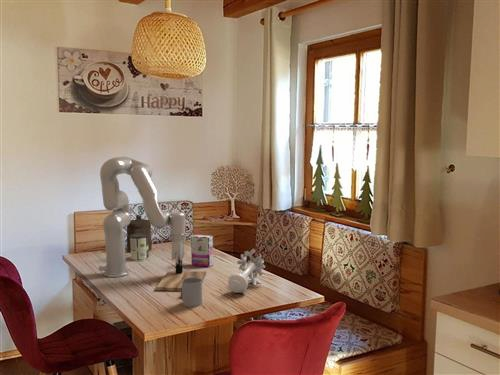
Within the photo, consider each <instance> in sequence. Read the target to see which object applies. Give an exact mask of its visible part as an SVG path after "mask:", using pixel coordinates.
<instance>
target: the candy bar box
mask: <svg viewBox="0 0 500 375" xmlns="http://www.w3.org/2000/svg"><path fill="white" fill-rule="evenodd" d="M213 238H214V236H213V235H203V234H194V235H190V250H191V255H190V256H191V266H194V267H204V268H206V267H207V268H210V267H213V266H214V243H213V242H214V239H213Z"/></svg>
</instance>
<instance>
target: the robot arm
mask: <svg viewBox="0 0 500 375" xmlns="http://www.w3.org/2000/svg"><path fill="white" fill-rule="evenodd" d="M122 174H126V175H129V177H130V178H131V180H132V182H133V185H134V186H135V188H136V189H137V192H138V194H139V195H140V197H141V200H142V206H143V210H144V213H145V216H146V217H147V220H149V221H150V223H151V227H153V228H154V229H157V230H162V229H164V228H166V227H167V226H168V227H169V229H170V231H169V232H170V241H171V261H172V262H174V260H175V271H176V273H182V272H183V271H184V270H183V259H184V257H185V243H184V242H185V241H186V239H187V237H186V236H187V234H186V214H185V213H184V212H182V211H174V212H172V211H166V210H165V211H164V210H163V211H161V208H160V207H159V204H158V201H157V200H158V199H157V197H158V190H157V187H156V185H155V183H154V182H153V179H152V176H153V169H152V168H151V166H149V165H148V164H146V163H144V162H141V161H138V160H136V159H133V158H131V157H128V156H118V157H112V158H110V159H107V160H106V161H104V163H103V164H102V165H101V168H100V171H99V175H100V182H101V193H102V201H103V202H102V203H103V206H104V208H105V210H106V211H112V213H110V214H108V215H107V216H105V218H104V219H103V222H102V225H103V226H102V227H103V232H104V238H105V240H104V241H105V256H106V258H105V259H106V263H105V264H106V265H104V266H103V265H99V266H98V270H99V271H100V272H101V271H104V272H103V276H104V277H106V276H107V277H106V278H120V277H124V276H127V275H129V274H130V271H129V269H127V268H126V267H127V265H126V264H127V263H126V262H127V261H126V240H125V239H126V238H125V235H124V229H125V228H126V229H127V226H128V225H129V224H130V220H132V219H131V208H130V201H129V197H128V195H127V193H126V192H125V191H123V190H120V183H119V180H118V176H119V175H122Z"/></svg>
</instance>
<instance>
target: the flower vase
mask: <svg viewBox="0 0 500 375" xmlns="http://www.w3.org/2000/svg"><path fill="white" fill-rule="evenodd" d="M256 251H257V249H255V248H252V249H251V250H249V251H248V250H245V251H243V254H240V259H239V260H237V262H236V264H237V265H239V267H238V270H242V272H241V273H237V272H235V273H233V274H231V275H230V276H229V277H228V281H227V282H228V284H227V285H228V287H229V288H228V289H229V290H230V291H231V292H233V293H235V294H237V293H238V294H239V293H241V294H242V293H245V291H246V290H247V289H248V287H249V284H251V283H252V285H253V286H256V285H257V283H259V284H263V283H262V281H259V279H257V277H258V275H260V276H262V275H263V271H262V270H264V269H265V268H266V265H264V263H265V261H264V259H263V258H262V253H259V256H256V257H255V258H254V256H253V254H254V253H255V252H256ZM247 257H249V260H247Z"/></svg>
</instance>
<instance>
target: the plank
mask: <svg viewBox="0 0 500 375" xmlns="http://www.w3.org/2000/svg"><path fill="white" fill-rule="evenodd" d="M185 273H186V271H184V270H183V272H182V273H176V270H168V271H167V272H166V273H165V275H164V276H163V277H162V278H161V281H160V282H159V283H157V286H156V291H166V292H167V291H168V292H169V291H171V292H177V286H178V285H179V283H180V281H181V280H182V278H183V276H184V275H185Z"/></svg>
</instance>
